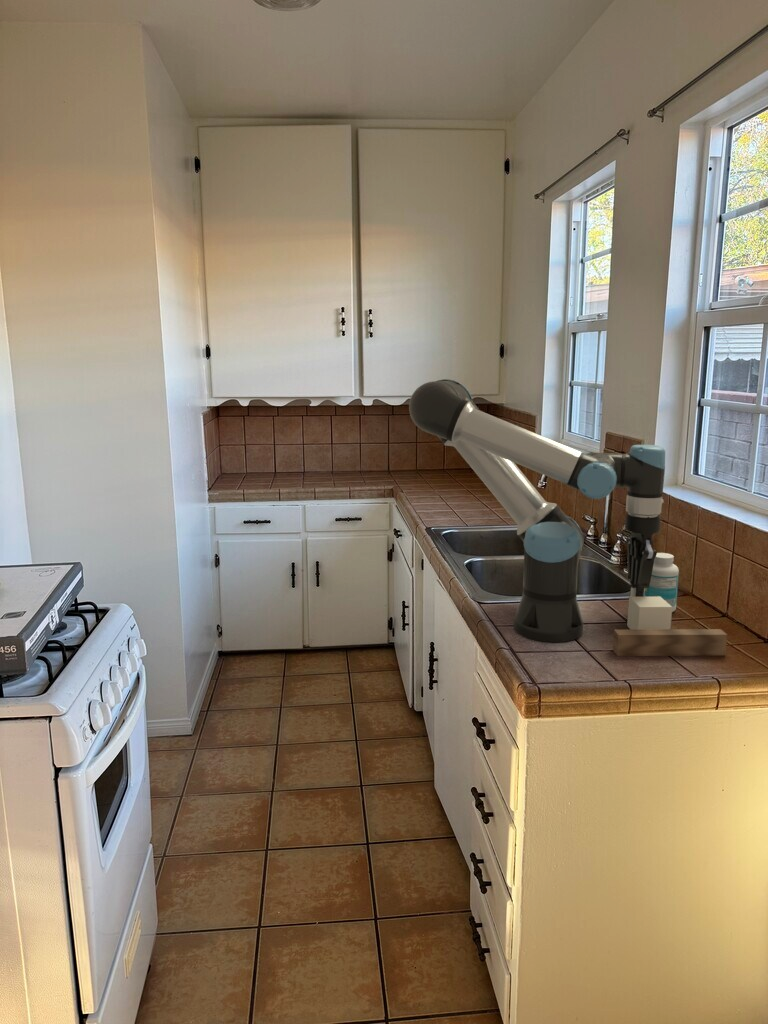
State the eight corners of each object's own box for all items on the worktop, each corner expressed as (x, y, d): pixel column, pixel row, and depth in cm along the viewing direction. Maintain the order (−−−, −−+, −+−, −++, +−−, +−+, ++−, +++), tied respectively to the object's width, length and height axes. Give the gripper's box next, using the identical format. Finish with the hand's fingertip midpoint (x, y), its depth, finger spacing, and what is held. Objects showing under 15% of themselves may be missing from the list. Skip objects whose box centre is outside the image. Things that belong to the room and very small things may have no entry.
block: (637, 637, 159) (639, 607, 157) (627, 626, 166) (629, 596, 164) (669, 637, 159) (672, 606, 157) (658, 625, 166) (660, 596, 164)
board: (617, 655, 149) (618, 635, 148) (612, 650, 152) (614, 629, 151) (725, 655, 149) (727, 634, 148) (718, 649, 152) (720, 629, 151)
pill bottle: (649, 602, 181) (653, 549, 179) (680, 608, 177) (684, 554, 174) (638, 610, 176) (642, 555, 173) (669, 616, 171) (674, 561, 168)
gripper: (671, 520, 158) (662, 623, 163) (649, 507, 171) (642, 603, 176) (636, 520, 158) (629, 623, 163) (617, 508, 171) (611, 603, 176)
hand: (636, 613), depth 170 cm, fingers closed
